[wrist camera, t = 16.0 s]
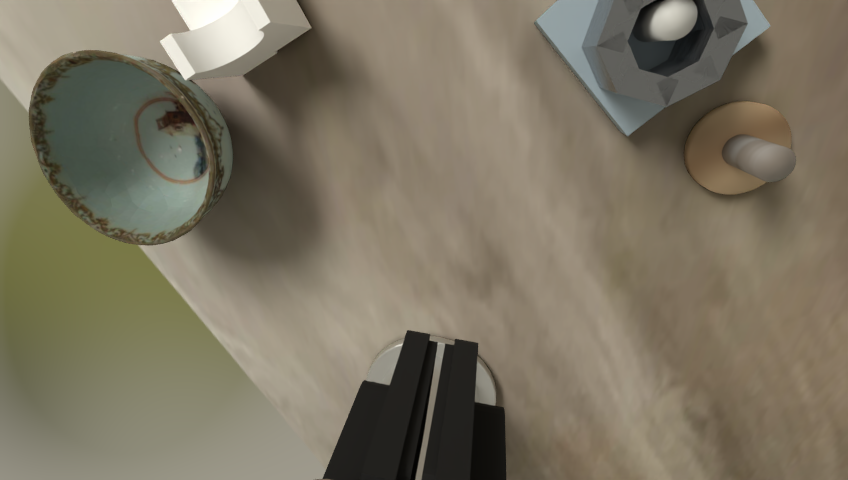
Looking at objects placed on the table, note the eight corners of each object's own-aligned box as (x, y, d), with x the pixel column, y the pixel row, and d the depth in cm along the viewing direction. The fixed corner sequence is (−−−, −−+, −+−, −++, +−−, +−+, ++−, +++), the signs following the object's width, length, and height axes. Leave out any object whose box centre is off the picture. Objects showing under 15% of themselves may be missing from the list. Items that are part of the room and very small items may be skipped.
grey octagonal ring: (718, 58, 29) (760, 59, 25) (611, 114, 31) (631, 125, 27) (679, -50, 27) (716, -71, 23) (567, 17, 29) (581, 10, 25)
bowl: (222, 24, 35) (148, 16, 27) (292, 189, 39) (245, 220, 32) (85, 81, 38) (-13, 87, 31) (163, 227, 42) (94, 264, 35)
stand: (801, 151, 32) (857, 169, 27) (715, 207, 34) (752, 233, 29) (751, 80, 31) (801, 85, 26) (666, 144, 33) (696, 159, 28)
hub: (753, 27, 30) (818, 21, 24) (620, 131, 33) (647, 148, 27) (664, -102, 28) (710, -144, 22) (533, 22, 32) (542, 15, 26)
